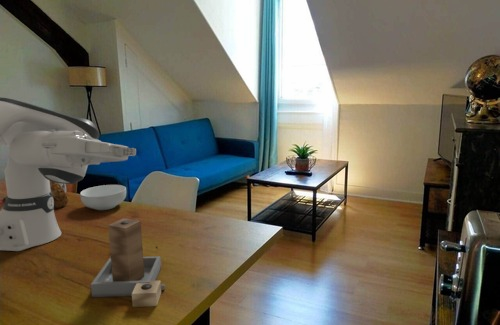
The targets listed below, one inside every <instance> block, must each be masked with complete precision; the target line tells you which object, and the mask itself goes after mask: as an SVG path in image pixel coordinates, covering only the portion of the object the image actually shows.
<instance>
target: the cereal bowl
mask: <svg viewBox="0 0 500 325" xmlns="http://www.w3.org/2000/svg"><path fill="white" fill-rule="evenodd" d="M79 195H80V196H79V197H80V201H81V203H82V204H83V205H84V206H85V207H87V208H89V209H94V210H95V211H107V210H111V209H114V208H116V207H117V206H118V205H120V204H122V203H123V202H124V201H125V199H126V198H127V187H126V186H124V185H121V184H106V185H105V184H103V185H98V186H93V187H88V188H86V189H83V190H82V191H80V194H79Z"/></svg>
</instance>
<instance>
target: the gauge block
mask: <svg viewBox="0 0 500 325" xmlns="http://www.w3.org/2000/svg"><path fill="white" fill-rule="evenodd" d="M161 282H162V281H161V280H158V279H157V280H156V281H150V283H137V284H136V286H135V288H134V290H133V292H132V296H131V300H132V301H131V303H132V308H136V307H137V308H139V307H142V308H143V307H157V306H158V303H159V300H160V298H161V294H162V291H164V290H165V289H166V284H164V283H162V284H161Z"/></svg>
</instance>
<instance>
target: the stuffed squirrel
mask: <svg viewBox="0 0 500 325" xmlns="http://www.w3.org/2000/svg"><path fill="white" fill-rule="evenodd" d="M49 181H50V180H49ZM50 190H51V191H52V194H53V200H54V209H57V208H59V209H60V208H62V207H64V206H66V205H68V203H69V201H70V199H69V198H68V195H67V194H66V193H67V192H65V191H64V190H63V188H62V187H61V186H60V184H59V183H54V184H52V183H51V181H50Z"/></svg>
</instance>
